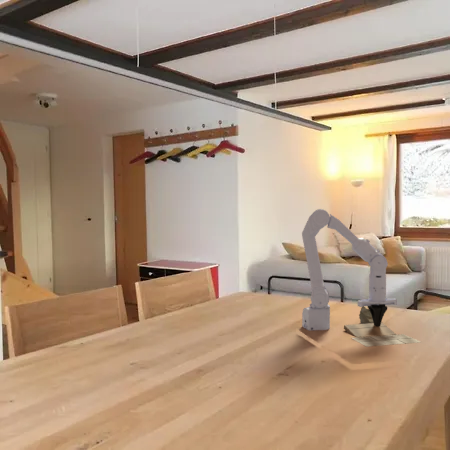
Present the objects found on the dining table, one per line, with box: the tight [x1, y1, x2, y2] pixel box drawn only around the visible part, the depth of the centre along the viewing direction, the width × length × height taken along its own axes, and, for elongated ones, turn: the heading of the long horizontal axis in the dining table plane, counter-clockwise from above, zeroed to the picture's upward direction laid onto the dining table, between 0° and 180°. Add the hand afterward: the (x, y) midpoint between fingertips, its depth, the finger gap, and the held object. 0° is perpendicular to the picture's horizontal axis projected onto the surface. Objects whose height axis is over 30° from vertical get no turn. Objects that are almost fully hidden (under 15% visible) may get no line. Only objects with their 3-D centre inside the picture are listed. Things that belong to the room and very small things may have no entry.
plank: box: [343, 322, 397, 338], centre depth 171 cm, size 15×9×2 cm, turn 104°
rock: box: [358, 306, 373, 324], centre depth 186 cm, size 11×6×10 cm
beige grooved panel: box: [350, 333, 421, 348], centre depth 162 cm, size 20×10×2 cm, turn 104°
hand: (377, 325), depth 174 cm, fingers closed, pressing on plank
